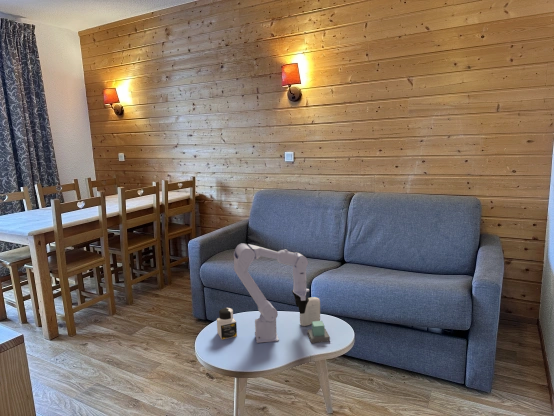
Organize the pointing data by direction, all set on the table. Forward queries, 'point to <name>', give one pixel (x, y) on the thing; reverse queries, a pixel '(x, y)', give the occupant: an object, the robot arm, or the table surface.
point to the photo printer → (311, 312)
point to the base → (318, 337)
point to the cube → (318, 328)
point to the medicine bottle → (226, 324)
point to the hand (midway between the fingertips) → (300, 309)
